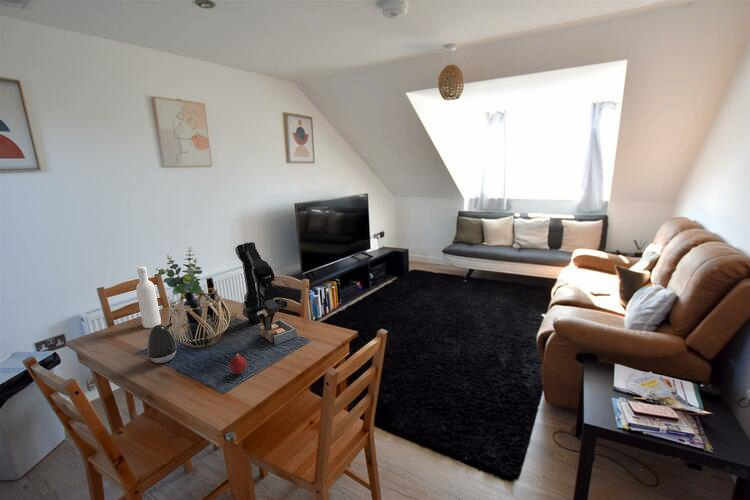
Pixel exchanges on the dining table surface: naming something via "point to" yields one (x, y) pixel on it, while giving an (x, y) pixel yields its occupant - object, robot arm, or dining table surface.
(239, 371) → the onion
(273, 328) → the block
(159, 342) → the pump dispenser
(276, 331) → the block
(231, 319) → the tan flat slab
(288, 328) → the box
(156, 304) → the bottle
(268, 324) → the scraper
